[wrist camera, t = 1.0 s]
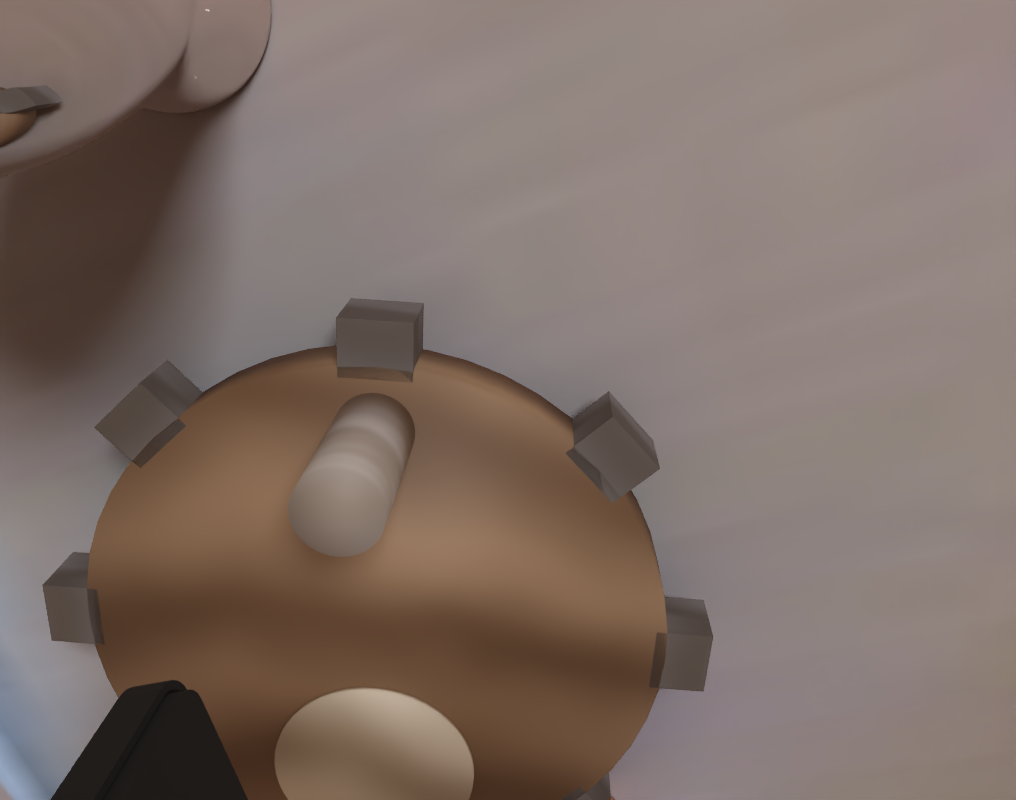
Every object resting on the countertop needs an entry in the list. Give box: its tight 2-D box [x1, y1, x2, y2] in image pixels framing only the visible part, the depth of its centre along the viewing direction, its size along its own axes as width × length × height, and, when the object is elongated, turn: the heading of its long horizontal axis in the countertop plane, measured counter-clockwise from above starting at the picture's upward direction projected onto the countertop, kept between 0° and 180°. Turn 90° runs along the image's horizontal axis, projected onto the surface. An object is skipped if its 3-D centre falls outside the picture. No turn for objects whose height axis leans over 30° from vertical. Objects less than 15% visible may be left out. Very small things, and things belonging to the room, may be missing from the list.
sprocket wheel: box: [43, 298, 713, 800], centre depth 28 cm, size 22×22×7 cm
